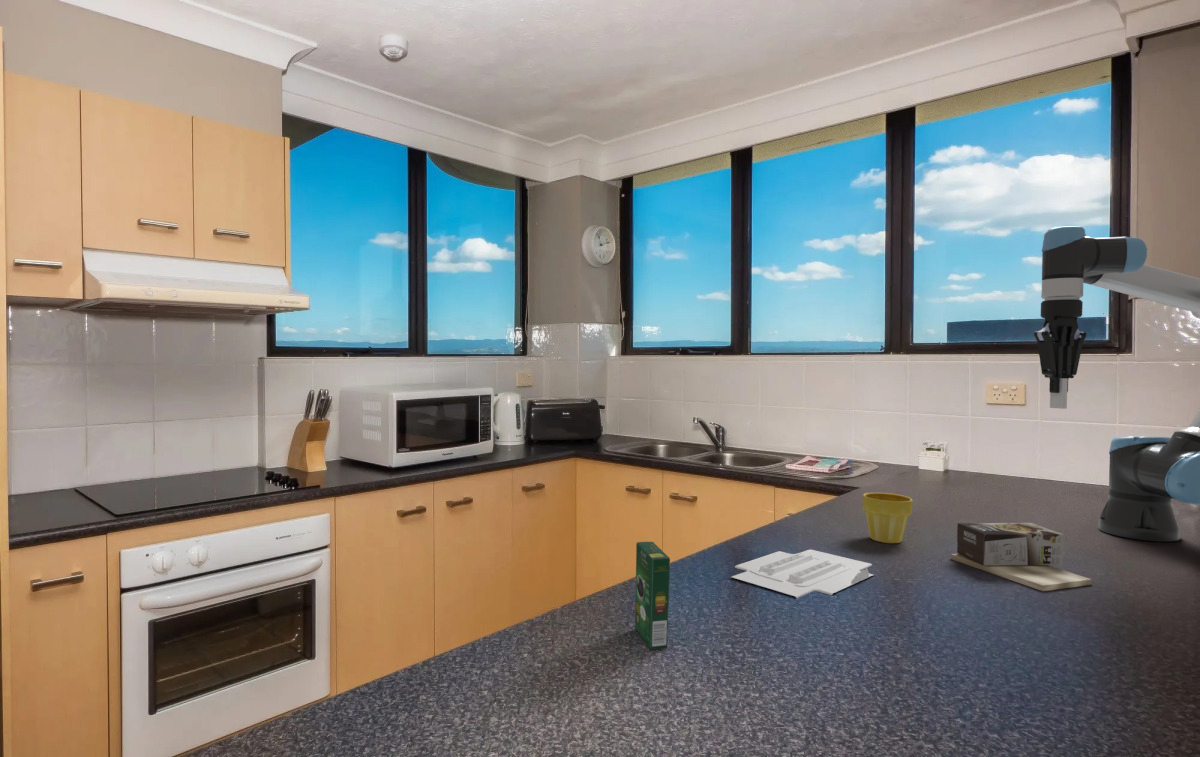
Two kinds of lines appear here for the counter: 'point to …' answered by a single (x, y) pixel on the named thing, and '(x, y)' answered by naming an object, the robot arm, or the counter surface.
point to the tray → (803, 572)
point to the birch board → (1031, 575)
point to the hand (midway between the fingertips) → (1058, 408)
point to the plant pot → (886, 515)
